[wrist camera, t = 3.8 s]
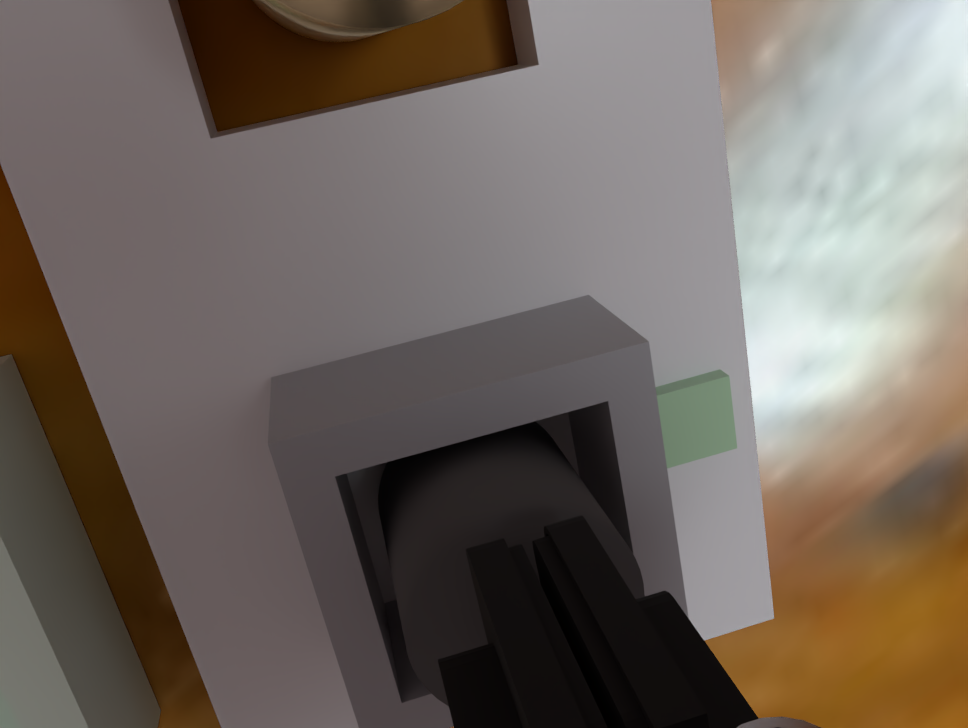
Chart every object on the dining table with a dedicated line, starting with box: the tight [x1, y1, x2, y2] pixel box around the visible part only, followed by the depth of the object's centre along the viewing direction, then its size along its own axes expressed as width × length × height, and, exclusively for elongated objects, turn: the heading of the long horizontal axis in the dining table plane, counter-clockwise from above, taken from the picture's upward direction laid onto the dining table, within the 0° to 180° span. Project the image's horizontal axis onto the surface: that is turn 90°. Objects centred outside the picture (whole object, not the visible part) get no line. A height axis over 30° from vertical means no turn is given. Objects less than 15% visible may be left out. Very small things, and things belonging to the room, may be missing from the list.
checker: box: [0, 0, 774, 728], centre depth 15 cm, size 21×12×4 cm, turn 12°
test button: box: [378, 421, 645, 706], centre depth 15 cm, size 4×4×4 cm
